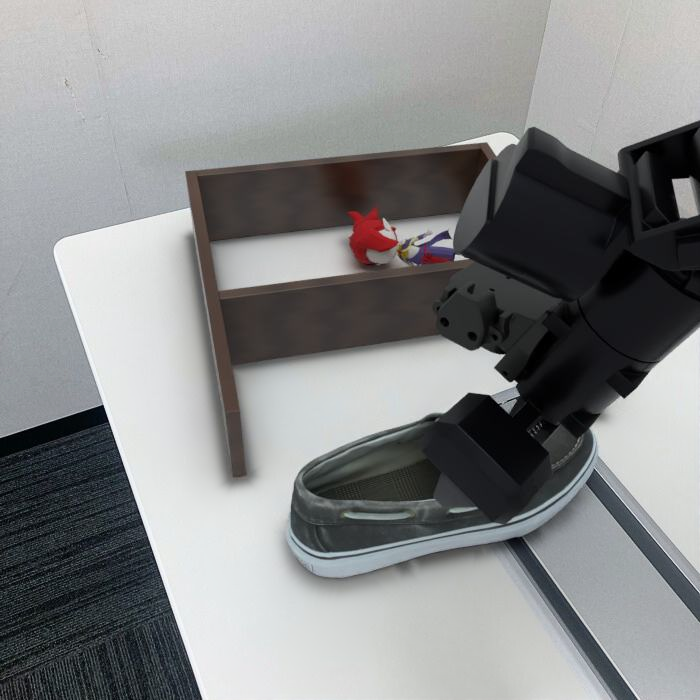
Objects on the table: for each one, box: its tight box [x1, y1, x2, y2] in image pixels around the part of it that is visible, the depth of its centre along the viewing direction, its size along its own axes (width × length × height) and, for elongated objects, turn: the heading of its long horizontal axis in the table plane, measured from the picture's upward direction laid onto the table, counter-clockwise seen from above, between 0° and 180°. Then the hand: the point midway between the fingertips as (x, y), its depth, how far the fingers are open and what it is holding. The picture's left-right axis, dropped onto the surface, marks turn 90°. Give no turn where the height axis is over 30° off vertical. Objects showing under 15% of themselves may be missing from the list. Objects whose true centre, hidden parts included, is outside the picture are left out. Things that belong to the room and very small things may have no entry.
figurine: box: [348, 206, 467, 267], centre depth 85 cm, size 6×8×15 cm
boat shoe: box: [285, 412, 599, 579], centre depth 61 cm, size 10×29×10 cm, turn 116°
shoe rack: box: [184, 141, 497, 478], centre depth 78 cm, size 35×35×9 cm
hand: (475, 463), depth 51 cm, fingers open, 9 cm apart
